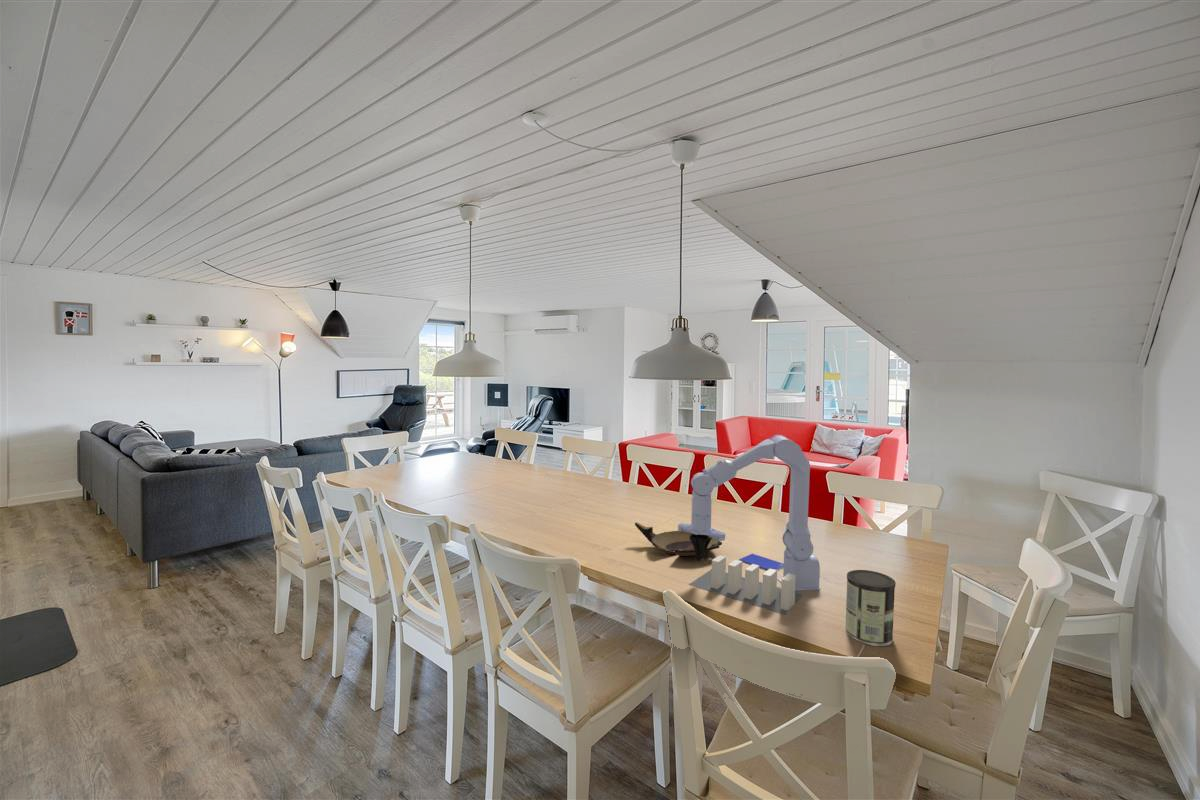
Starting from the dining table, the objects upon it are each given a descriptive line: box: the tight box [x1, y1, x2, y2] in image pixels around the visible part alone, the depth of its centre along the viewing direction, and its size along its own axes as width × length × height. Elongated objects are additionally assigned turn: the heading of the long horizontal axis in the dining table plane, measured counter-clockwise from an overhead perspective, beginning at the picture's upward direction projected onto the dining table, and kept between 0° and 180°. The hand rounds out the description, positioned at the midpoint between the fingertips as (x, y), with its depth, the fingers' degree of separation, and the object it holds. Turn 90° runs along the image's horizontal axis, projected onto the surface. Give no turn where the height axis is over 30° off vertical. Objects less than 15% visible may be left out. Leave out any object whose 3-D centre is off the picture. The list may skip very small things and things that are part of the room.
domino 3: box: [744, 564, 760, 600], centre depth 143 cm, size 2×5×8 cm, turn 141°
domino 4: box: [762, 569, 778, 605], centre depth 140 cm, size 2×5×8 cm, turn 141°
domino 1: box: [711, 555, 727, 589], centre depth 149 cm, size 2×5×8 cm, turn 141°
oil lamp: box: [634, 522, 723, 557], centre depth 179 cm, size 22×30×8 cm
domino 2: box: [727, 559, 743, 594], centre depth 146 cm, size 2×5×8 cm, turn 141°
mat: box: [688, 568, 804, 615], centre depth 147 cm, size 28×15×1 cm, turn 51°
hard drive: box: [738, 553, 784, 571], centre depth 166 cm, size 2×8×12 cm
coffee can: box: [845, 569, 896, 647], centre depth 123 cm, size 10×10×14 cm
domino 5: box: [780, 573, 796, 612], centre depth 137 cm, size 2×5×8 cm, turn 141°
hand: (700, 559), depth 153 cm, fingers closed
